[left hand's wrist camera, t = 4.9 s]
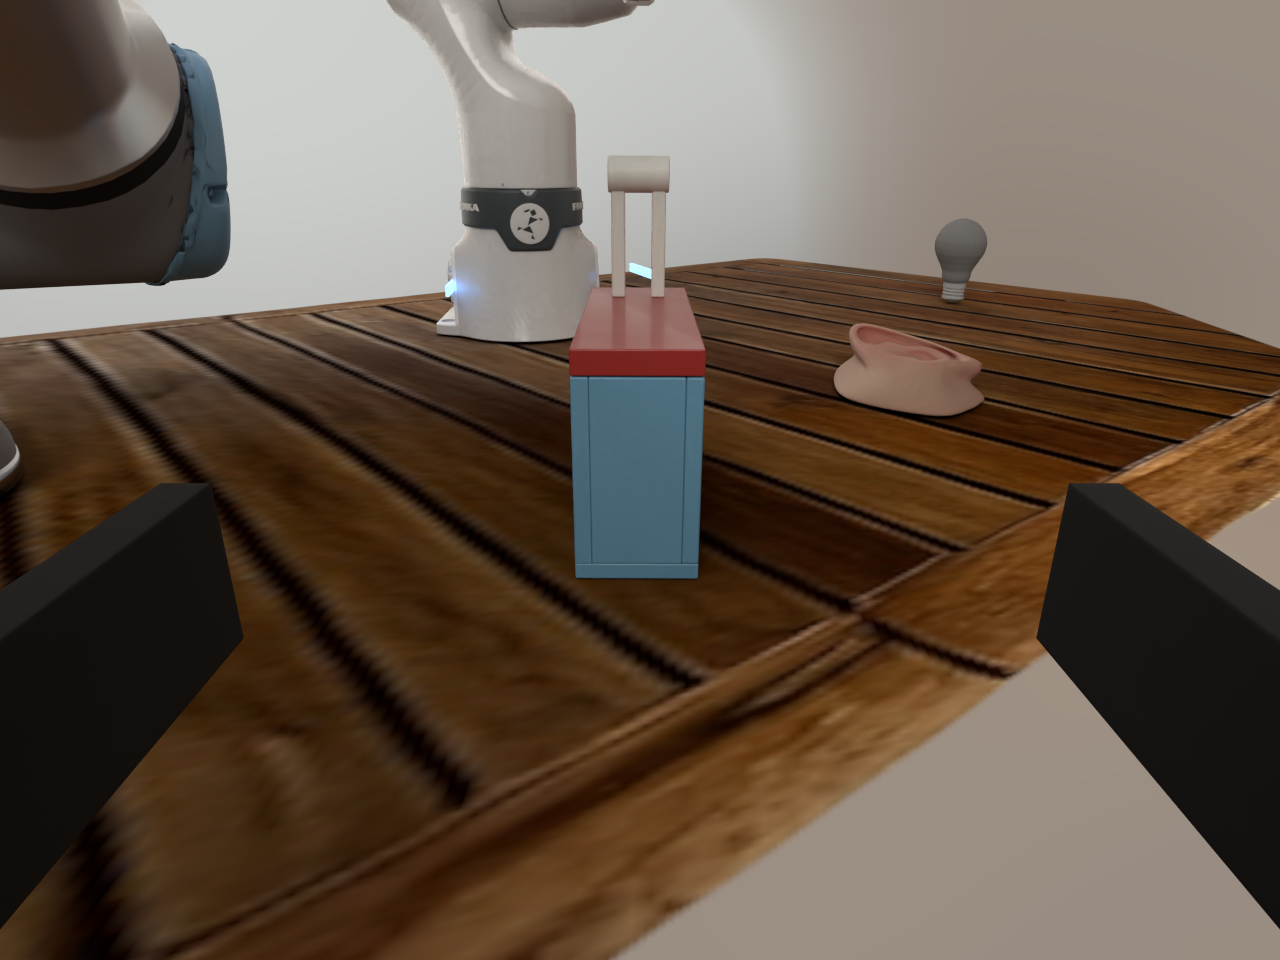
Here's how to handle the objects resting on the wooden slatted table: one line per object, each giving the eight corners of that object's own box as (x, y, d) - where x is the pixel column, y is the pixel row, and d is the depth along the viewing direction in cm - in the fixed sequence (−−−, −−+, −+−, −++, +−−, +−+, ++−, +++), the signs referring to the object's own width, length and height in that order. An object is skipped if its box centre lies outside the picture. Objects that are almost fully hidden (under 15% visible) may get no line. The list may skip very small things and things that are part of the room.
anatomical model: (996, 366, 54) (823, 352, 57) (986, 422, 55) (818, 405, 59) (988, 329, 65) (845, 319, 69) (980, 376, 67) (840, 364, 71)
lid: (592, 306, 47) (589, 155, 44) (684, 306, 47) (688, 155, 44) (569, 376, 32) (563, 154, 29) (705, 376, 32) (712, 155, 29)
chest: (594, 457, 49) (591, 309, 46) (681, 457, 49) (684, 309, 46) (575, 578, 35) (569, 377, 32) (698, 579, 35) (705, 377, 32)
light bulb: (934, 305, 99) (946, 220, 95) (921, 297, 104) (932, 216, 101) (984, 306, 99) (998, 220, 95) (968, 298, 104) (981, 217, 100)
